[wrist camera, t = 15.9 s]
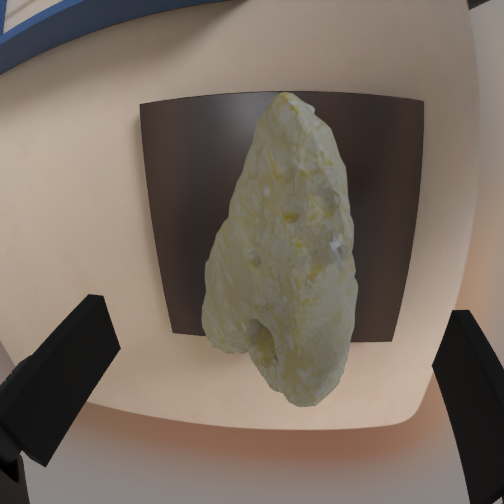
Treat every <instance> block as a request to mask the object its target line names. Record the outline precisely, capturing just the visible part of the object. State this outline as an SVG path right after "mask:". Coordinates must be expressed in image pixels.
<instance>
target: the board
mask: <svg viewBox="0 0 504 504" xmlns="http://www.w3.org/2000/svg"><path fill="white" fill-rule="evenodd" d="M283 92H288V93H293V94H294V95H295V96H297V97H298V98H299V99H301V100H302V101H303V102H305V103H307V104H309V105H311V106H313V107H314V108H315V112H314V114H315V115H316V116H317V117H318V118H320V119H321V120H322V121H323V122H325V123H326V124H327V125H328V126H329V127H330V128H331V130H332V133H333V136H334V138H335V141H336V144H337V148H338V151H339V154H340V157H341V160H342V161H343V163H344V165H345V166H346V175H347V187H348V199H349V204H350V215H351V217H352V220H353V224H354V242H353V249H352V255H353V258H354V263H355V269H356V272H355V276H354V278H355V279H356V281H357V284H358V294H357V300H356V306H355V324H354V330H353V333H352V335H351V341H350V342H391V341H392V339H393V335H394V331H395V327H396V323H397V319H398V315H399V311H400V307H401V303H402V298H403V294H404V289H405V284H406V279H407V274H408V269H409V263H410V258H411V252H412V246H413V240H414V233H415V226H416V218H417V211H418V202H419V193H420V182H421V170H422V155H423V133H424V101H421V100H414V99H407V98H399V97H391V96H381V95H371V94H358V93H343V92H319V91H268V92H244V93H228V94H215V95H205V96H195V97H186V98H178V99H171V100H163V101H157V102H150V103H144V104H140V118H141V130H142V142H143V152H144V162H145V171H146V180H147V188H148V196H149V204H150V211H151V218H152V225H153V231H154V237H155V244H156V250H157V256H158V261H159V267H160V273H161V278H162V283H163V288H164V294H165V299H166V303H167V308H168V313H169V318H170V322H171V327H172V331H173V333H178V334H188V335H198V336H206V334H205V331H204V329H203V327H202V305H203V303H204V298H205V294H206V284H205V265H206V261H207V260H209V257H210V252H211V249H212V247H213V245H214V242H215V238H216V234H217V232H218V231H219V230H220V228H221V226H222V224H223V222H224V221H225V220H226V219H227V218H228V217H229V206H230V200H231V198H232V196H233V193H234V191H235V187H236V183H237V181H238V179H239V177H240V176H241V174H242V172H243V168H244V164H245V160H246V157H247V154H248V152H249V149H250V147H251V145H252V143H253V137H254V131H255V127H256V123H257V121H258V119H259V118H260V117H261V115H262V114H263V113H264V112H265V110H266V109H267V107H268V105H269V103H270V100H271V99H273V98H274V97H275V96H276V95H277V94H280V93H283Z"/></svg>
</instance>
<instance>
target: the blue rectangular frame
mask: <svg viewBox="0 0 504 504" xmlns="http://www.w3.org/2000/svg"><path fill="white" fill-rule="evenodd" d="M220 1H228V0H63V1H61V2H59V3H57V4H55V5H53V6H51V7H49V8H47V9H45V10H43V11H42V12H40V13H38V14H36V15H34V16H33V17H31V18H29V19H27V20H26V21H24V22H22V23H21V24H19V25H17V26H16V27H14V28H12V29H11V30H9V31H8V32H6V33H5V34H3V26H4V17H5V9H6V2H7V0H0V74H2V73H3V72H5V71H7V70H9V69H11V68H12V67H14V66H16V65H18V64H20V63H22V62H24V61H26V60H28V59H30V58H32V57H34V56H36V55H38V54H40V53H42V52H44V51H47V50H49V49H51V48H53V47H55V46H58V45H60V44H62V43H65V42H67V41H70V40H72V39H75V38H77V37H80V36H83V35H85V34H88V33H91V32H93V31H96V30H99V29H102V28H105V27H108V26H111V25H114V24H118V23H121V22H124V21H128V20H131V19H135V18H138V17H142V16H146V15H150V14H154V13H158V12H163V11H167V10H172V9H177V8H182V7H187V6H193V5H199V4H205V3H212V2H220Z"/></svg>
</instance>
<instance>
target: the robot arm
mask: <svg viewBox="0 0 504 504" xmlns="http://www.w3.org/2000/svg"><path fill="white" fill-rule="evenodd" d="M120 349H121V348H120V345H119V342H118V339H117V336H116V334H115V331H114V328H113V325H112V322H111V319H110V316H109V313H108V309H107V306H106V303H105V300H104V296H101V295H92V294H88V295H87V296H86V297H85V298H84V299H83V300H82V302H81V303H80V304H79V305H78V306H77V307H76V308H75V309H74V310H73V311H72V312H71V313H70V314H69V315H68V316H67V317H66V318H65V319H64V320H63V321H62V323H61V324H60V325H59V326H58V327H57V328H56V329H55V330H54V331H53V332H52V333H51V334H50V336H49V337H48V338H47V339H46V340H45V341H44V342H43V343H42V344H41V345H40V347H39V348H38V349H37V350H36V351H35V352H34V353H33V355H32V356H31V355H30V356H29V357H27V358H26V359H24V360H23V361H21V362H20V363H19V364H18V365H17V366H16V367H15V369H14V370H13V371H12V374H9V376H8V377H7V378H6V381H4V382H3V383H2V384H1V385H0V504H30V502H29V497H28V491H27V485H26V480H25V472H24V464H23V459H22V456H21V455H20V452H21V451H22V450H23V451H24V452H25V454H26V455H27V456H28V457H29V458H30V459H32V460H33V461H35V462H37V463H39V464H41V465H42V466H44V467H46V466H47V464H48V463H49V461H50V459H51V458H52V456H53V454H54V452H55V451H56V449H57V448H58V446H59V444H60V443H61V441H62V439H63V438H64V436H65V434H66V433H67V431H68V429H69V428H70V426H71V424H72V423H73V421H74V420H75V418H76V416H77V415H78V413H79V412H80V410H81V408H82V407H83V405H84V404H85V402H86V401H87V399H88V397H89V396H90V394H91V393H92V391H93V390H94V388H95V387H96V385H97V384H98V382H99V380H100V379H101V377H102V376H103V374H104V373H105V371H106V370H107V368H108V367H109V365H110V364H111V362H112V361H113V359H114V358H115V356H116V355H117V353H118V352H119V350H120ZM432 368H433V370H434V373H435V376H436V379H437V382H438V384H439V388H440V390H441V393H442V396H443V400H444V403H445V406H446V409H447V412H448V415H449V419H450V422H451V425H452V429H453V432H454V436H455V439H456V443H457V447H458V451H459V455H460V459H461V463H462V467H463V471H464V475H465V481H466V485H467V490H468V495H469V500H470V504H493V503H494V502H495V501H497V500H498V499H499V498H500V497H502V500H503V503H502V504H504V369H503V367H502V365H501V363H500V361H499V360H498V358H497V356H496V354H495V352H494V351H493V349H492V347H491V345H490V344H489V342H488V340H487V338H486V337H485V335H484V333H483V332H482V330H481V328H480V327H479V325H478V324H477V322H476V320H475V319H474V317H473V315H472V314H471V312H470V311H469V310H452V313H451V316H450V319H449V322H448V325H447V327H446V330H445V333H444V336H443V339H442V341H441V344H440V347H439V349H438V352H437V354H436V357H435V359H434V362H433V364H432Z"/></svg>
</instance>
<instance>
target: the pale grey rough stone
mask: <svg viewBox="0 0 504 504" xmlns="http://www.w3.org/2000/svg"><path fill="white" fill-rule="evenodd" d="M314 112H315V108H314V107H313V106H311V105H309V104H307V103H305V102H303V101H302V100H301V99H299V98H298V97H297V96H295V95H294V94H293V93H288V92H283V93H280V94H277V95H276V96H275V97H274V98H273V99H271V100H270V103H269V105H268V107H267V109H266V110H265V112H264V113H263V114H262V115H261V117H260V118H259V119H258V121H257V123H256V127H255V131H254V137H253V143H252V145H251V147H250V149H249V152H248V154H247V157H246V160H245V164H244V168H243V172H242V174H241V176H240V177H239V179H238V181H237V183H236V187H235V191H234V193H233V196H232V198H231V200H230V206H229V217H228V218H227V219H226V220H225V221H224V222H223V224H222V226H221V228H220V230H219V231H218V232H217V234H216V238H215V242H214V245H213V247H212V249H211V252H210V257H209V260H207V261H206V265H205V284H206V294H205V298H204V303H203V305H202V327H203V329H204V331H205V334H206V337H207V339H208V340H209V341H210V343H211V344H212V346H213V347H215V348H219V349H221V350H222V351H224V352H226V353H236V352H239V353H246V352H248V351H249V354H250V357H251V360H252V361H253V363H254V364H255V366H256V367H257V368H258V370H259V371H260V373H261V374H262V376H263V377H264V378H265V380H266V381H267V383H268V385H269V386H270V388H271V389H273V390H274V391H277V392H281V393H283V394H284V395H285V397H286V398H287V400H288V401H289V402H290V403H292V404H294V405H296V406H298V407H307V406H315V405H316V404H318V403H319V402H320V401H321V400H323V399H324V398H325V397H326V396H327V395H328V394H330V393H331V392H332V391H333V390H334V389H335V388H336V386H337V385H338V383H339V381H340V378H341V376H342V374H343V372H344V367H345V363H346V360H347V356H348V352H349V346H350V341H351V335H352V333H353V330H354V324H355V306H356V300H357V294H358V284H357V281H356V279H355V278H354V276H355V272H356V269H355V263H354V258H353V255H352V249H353V242H354V224H353V220H352V217H351V215H350V204H349V199H348V187H347V175H346V166H345V165H344V163H343V161H342V160H341V157H340V154H339V151H338V148H337V144H336V141H335V138H334V136H333V133H332V130H331V128H330V127H329V126H328V125H327V124H326V123H325V122H323V121H322V120H321V119H320V118H318V117H317V116H316V115H315V114H314Z"/></svg>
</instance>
